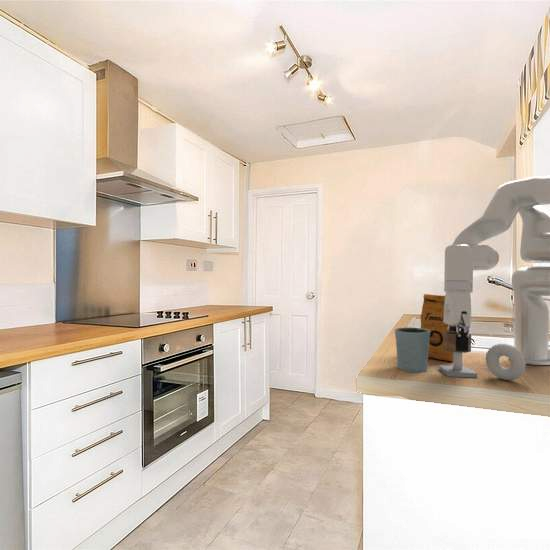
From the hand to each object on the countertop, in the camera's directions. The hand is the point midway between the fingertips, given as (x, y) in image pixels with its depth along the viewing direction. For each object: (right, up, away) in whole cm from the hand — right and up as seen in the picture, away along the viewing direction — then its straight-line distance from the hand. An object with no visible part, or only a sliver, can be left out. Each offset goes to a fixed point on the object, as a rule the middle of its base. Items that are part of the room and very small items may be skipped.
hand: (457, 347), depth 112 cm
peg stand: (0, -7, 0) cm, 7 cm away
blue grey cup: (-11, -8, +5) cm, 15 cm away
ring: (0, -1, 0) cm, 1 cm away
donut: (+10, -8, -7) cm, 14 cm away
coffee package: (+4, -8, +20) cm, 22 cm away
